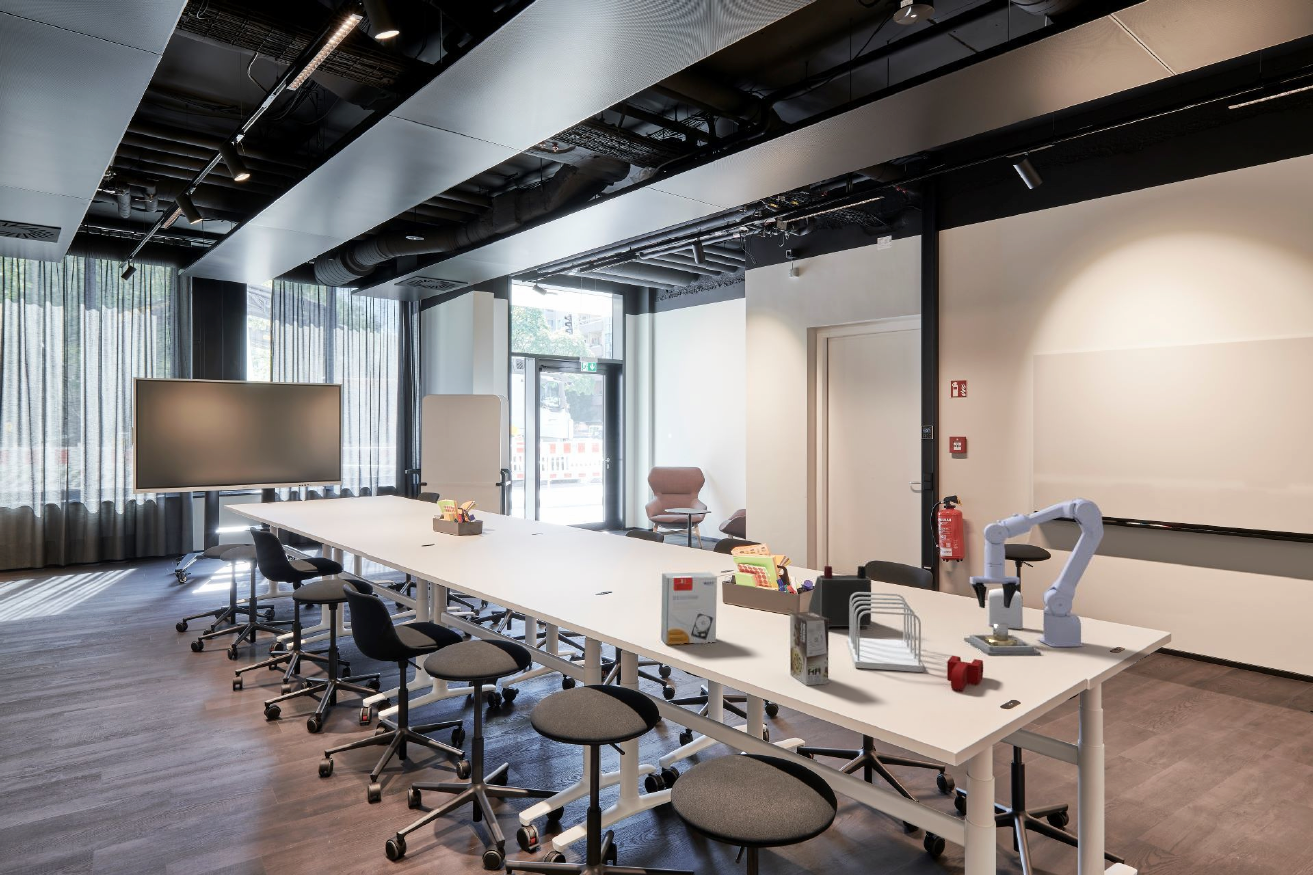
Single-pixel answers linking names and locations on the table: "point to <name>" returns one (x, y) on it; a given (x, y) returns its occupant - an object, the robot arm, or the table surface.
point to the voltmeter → (840, 597)
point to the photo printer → (1005, 609)
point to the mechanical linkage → (964, 672)
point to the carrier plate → (1021, 649)
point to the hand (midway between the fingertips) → (994, 607)
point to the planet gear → (1000, 636)
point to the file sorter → (883, 650)
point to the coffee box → (809, 647)
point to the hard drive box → (688, 608)
